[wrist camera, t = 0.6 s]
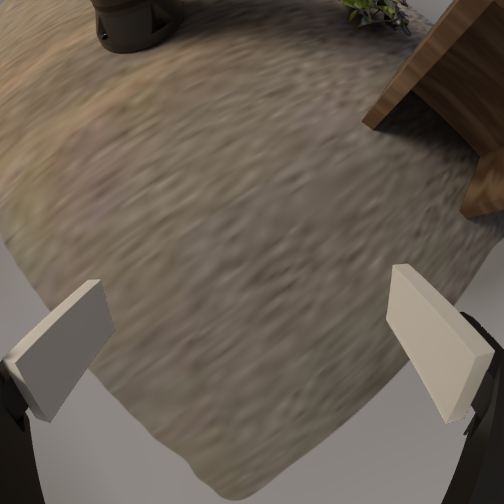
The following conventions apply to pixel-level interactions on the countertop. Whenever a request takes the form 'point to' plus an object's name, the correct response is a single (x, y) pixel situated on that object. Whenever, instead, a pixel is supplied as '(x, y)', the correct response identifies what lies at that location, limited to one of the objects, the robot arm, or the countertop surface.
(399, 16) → the passion flower
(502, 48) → the walnut stand
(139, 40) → the robot arm
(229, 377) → the countertop surface
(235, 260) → the countertop surface
